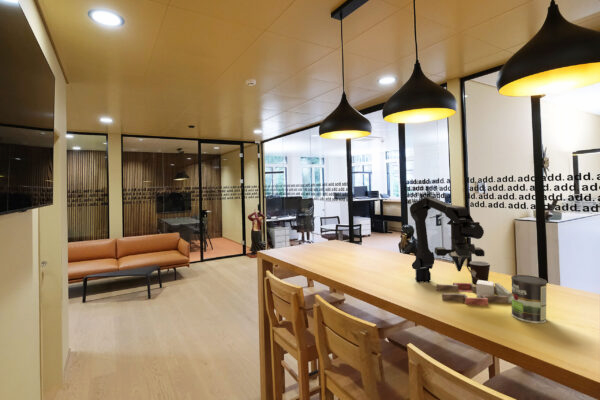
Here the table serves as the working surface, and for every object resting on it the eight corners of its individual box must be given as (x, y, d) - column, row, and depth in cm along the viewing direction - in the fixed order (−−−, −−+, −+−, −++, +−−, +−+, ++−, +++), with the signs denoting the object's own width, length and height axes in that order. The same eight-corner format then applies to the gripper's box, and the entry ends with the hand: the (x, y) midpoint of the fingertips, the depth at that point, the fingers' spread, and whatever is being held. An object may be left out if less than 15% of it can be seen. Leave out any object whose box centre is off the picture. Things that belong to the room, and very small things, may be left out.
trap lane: (444, 303, 126) (444, 293, 126) (434, 287, 146) (434, 278, 146) (516, 306, 120) (516, 296, 120) (495, 289, 140) (495, 280, 140)
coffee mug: (493, 286, 144) (493, 265, 144) (473, 286, 146) (473, 265, 145) (483, 279, 155) (483, 259, 155) (465, 278, 157) (465, 259, 157)
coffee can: (527, 324, 105) (527, 284, 105) (504, 312, 115) (504, 275, 115) (554, 322, 106) (554, 282, 105) (530, 310, 116) (530, 274, 116)
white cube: (493, 295, 133) (493, 281, 133) (493, 299, 128) (492, 285, 128) (478, 293, 137) (477, 279, 136) (476, 297, 132) (476, 283, 132)
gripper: (439, 238, 127) (440, 275, 128) (489, 238, 123) (489, 277, 124) (434, 234, 138) (434, 268, 139) (479, 234, 134) (480, 269, 134)
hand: (459, 271), depth 134 cm, fingers closed
